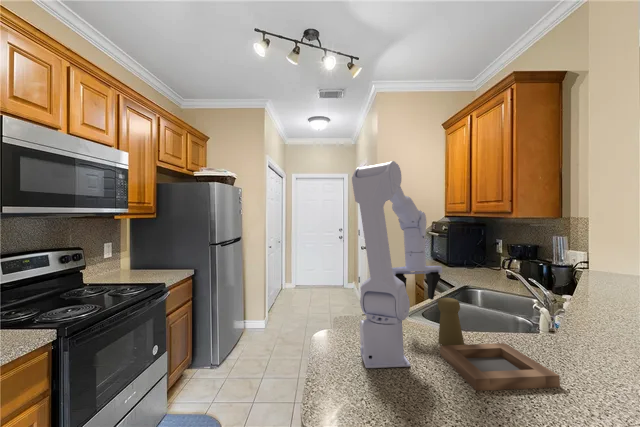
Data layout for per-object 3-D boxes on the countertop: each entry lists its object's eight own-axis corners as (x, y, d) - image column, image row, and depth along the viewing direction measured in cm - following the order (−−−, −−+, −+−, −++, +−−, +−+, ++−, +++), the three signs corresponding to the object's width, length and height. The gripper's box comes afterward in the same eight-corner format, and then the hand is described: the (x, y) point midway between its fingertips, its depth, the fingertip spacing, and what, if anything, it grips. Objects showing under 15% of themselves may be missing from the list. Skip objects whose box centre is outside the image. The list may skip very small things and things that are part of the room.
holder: (476, 390, 51) (475, 379, 51) (440, 354, 66) (439, 345, 66) (560, 387, 51) (559, 375, 51) (505, 352, 66) (504, 343, 66)
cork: (467, 348, 69) (464, 301, 70) (440, 347, 70) (438, 301, 71) (460, 338, 75) (457, 296, 76) (436, 338, 76) (433, 295, 77)
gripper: (434, 250, 88) (436, 295, 87) (386, 251, 88) (389, 297, 87) (444, 251, 81) (447, 300, 80) (392, 253, 81) (395, 303, 80)
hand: (417, 299), depth 83 cm, fingers open, 7 cm apart
